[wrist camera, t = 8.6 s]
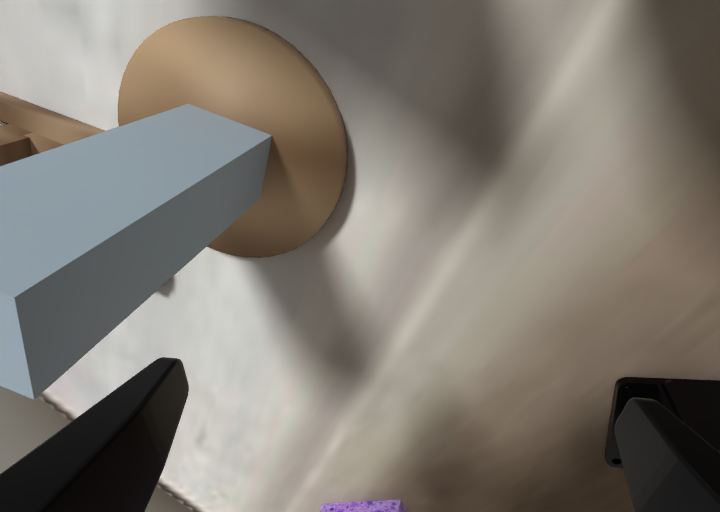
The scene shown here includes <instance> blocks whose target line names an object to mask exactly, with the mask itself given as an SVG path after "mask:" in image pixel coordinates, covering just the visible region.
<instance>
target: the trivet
mask: <svg viewBox="0 0 720 512" xmlns="http://www.w3.org/2000/svg"><path fill="white" fill-rule="evenodd" d="M186 104H191V105H193V106H196V107H199V108H201V109H204V110H207V111H209V112H212V113H215V114H217V115H220V116H222V117H225V118H228V119H230V120H233V121H236V122H238V123H241V124H244V125H246V126H249V127H251V128H254V129H257V130H259V131H262V132H265V133H267V134H270V135H272V138H271V144H270V149H269V154H268V160H267V165H266V170H265V176H264V181H263V186H262V192H261V197H260V199H259V200H258V201H257V202H256V203H255V204H254V205H252V206H251V207H250V208H249V209H248V210H247V211H246V212H245V213H243V214H242V215H241V216H240V217H239V218H238V219H237V220H236V221H234V222H233V223H232V224H231V225H230V226H229V227H228V228H227V229H225V230H224V231H223V232H222V233H221V234H220V235H219V236H218V237H216V238H215V239H214V240H213V241H212V242H211V243H210V244H209V245H208V246H207V247H209V248H212V249H214V250H217V251H220V252H223V253H226V254H230V255H234V256H241V257H254V258H260V257H270V256H275V255H279V254H283V253H285V252H288V251H290V250H293V249H295V248H297V247H298V246H300V245H302V244H304V243H305V242H306V241H308V240H309V239H310V238H311V237H313V236H314V235H315V234H316V233H317V231H318V230H319V229H320V228H321V227H322V226H323V225H324V223H325V222H326V220H327V219H328V217H329V216H330V214H331V213H332V211H333V210H334V208H335V207H336V205H337V202H338V200H339V198H340V196H341V193H342V190H343V187H344V183H345V179H346V172H347V157H348V150H347V141H346V134H345V130H344V125H343V121H342V118H341V115H340V112H339V110H338V107H337V104H336V102H335V100H334V98H333V96H332V94H331V92H330V90H329V88H328V86H327V85H326V83H325V82H324V80H323V79H322V77H321V76H320V74H319V73H318V71H317V70H316V69H315V68H314V67H313V65H312V64H311V63H310V62H309V61H308V60H307V58H306V57H305V56H304V55H303V54H301V53H300V52H299V51H298V50H297V49H296V48H295V47H294V46H293V45H291V44H290V43H289V42H287V41H286V40H284V39H283V38H282V37H280V36H279V35H277V34H276V33H274V32H272V31H270V30H268V29H266V28H264V27H262V26H260V25H257V24H254V23H251V22H249V21H246V20H241V19H236V18H231V17H215V16H211V17H195V18H187V19H183V20H179V21H176V22H173V23H170V24H168V25H166V26H164V27H162V28H161V29H159V30H157V31H156V32H154V33H153V34H152V35H151V36H149V37H148V38H147V39H146V40H145V41H144V42H143V43H142V44H141V45H140V46H139V47H138V49H137V50H136V51H135V53H134V54H133V56H132V58H131V59H130V61H129V63H128V65H127V67H126V70H125V72H124V75H123V78H122V82H121V86H120V90H119V99H118V122H119V127H120V126H123V125H126V124H129V123H132V122H135V121H138V120H141V119H144V118H147V117H150V116H153V115H156V114H159V113H162V112H165V111H168V110H171V109H174V108H177V107H180V106H183V105H186Z"/></svg>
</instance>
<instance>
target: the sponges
mask: <svg viewBox="0 0 720 512" xmlns="http://www.w3.org/2000/svg"><path fill="white" fill-rule="evenodd" d="M320 509H322V511H320V512H407V510H406V508H405V507H404V505H403V504H402V502H401V500H382V501H364V502H363V501H361V502H344V503H330V504H327V503H326V504H322V505H321V507H320Z"/></svg>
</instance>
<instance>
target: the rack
mask: <svg viewBox="0 0 720 512" xmlns="http://www.w3.org/2000/svg"><path fill="white" fill-rule="evenodd" d="M0 120H1V121H3V122H6V123H8V124H7V125H3V126H0V166H3V165H6V164H9V163H12V162H15V161H18V160H21V159H24V158H27V157H30V156H33V155H36V154H39V153H42V152H45V151H48V150H51V149H54V148H57V147H60V146H63V145H66V144H69V143H72V142H75V141H78V140H81V139H84V138H87V137H90V136H93V135H96V134H99V133H102V132H105V131H104V130H101V129H99V128H96V127H93V126H90V125H88V124H85V123H82V122H80V121H77V120H74V119H72V118H69V117H66V116H64V115H61V114H58V113H56V112H53V111H50V110H48V109H45V108H42V107H40V106H37V105H34V104H32V103H29V102H26V101H24V100H21V99H18V98H16V97H13V96H10V95H8V94H5V93H2V92H0Z"/></svg>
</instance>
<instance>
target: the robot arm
mask: <svg viewBox="0 0 720 512" xmlns="http://www.w3.org/2000/svg"><path fill="white" fill-rule="evenodd" d="M629 386H630V387H629ZM626 387H629V388H626ZM188 391H189V386H188V381H187V378H186V374H185V370H184V366H183V363H182V361H181V360H180V359H177V358H165V357H162V358H159V359H157V360H155V361H154V362H153V363H151V364H150V365H149V366H147V367H146V368H144V369H143V370H142V371H140V372H139V373H138V374H136V375H135V376H134V377H132V378H131V379H129V380H128V381H127V382H125V383H124V384H123V385H121V386H120V387H119V388H117V389H116V390H114V391H113V392H112V393H110V394H109V395H108V396H106V397H105V398H104V399H102V400H101V401H99V402H98V403H97V404H95V405H94V406H93V407H91V408H90V409H89V410H87V411H86V412H84V413H83V414H82V415H80V416H79V417H78V418H76V419H75V420H73V421H72V422H71V423H69V424H68V425H67V426H65V427H64V428H63V429H61V430H60V431H59V432H57V433H56V434H54V435H53V436H52V437H50V438H49V439H48V440H46V441H45V442H44V443H42V444H41V445H40V446H38V447H37V448H35V449H34V450H33V451H31V452H30V453H28V454H27V455H26V456H24V457H23V458H22V459H20V460H19V461H18V462H16V463H15V464H13V465H12V466H11V467H9V468H8V469H7V470H5V471H4V472H3V473H1V474H0V512H145V509H146V507H147V505H148V503H149V500H150V498H151V496H152V494H153V492H154V489H155V487H156V485H157V483H158V480H159V478H160V476H161V473H162V471H163V469H164V466H165V463H166V460H167V457H168V454H169V451H170V448H171V445H172V442H173V439H174V436H175V433H176V430H177V427H178V424H179V421H180V418H181V415H182V412H183V409H184V406H185V403H186V400H187V396H188ZM605 457H606V461H607V463H608V464H609V465H610V466H612V467H619V468H624V471H625V474H626V478H627V482H628V486H629V490H630V494H631V497H632V501H633V505H634V508H635V512H720V381H715V380H690V379H664V378H639V377H624V378H621V379H619V380H618V381H617V382H616V386H615V392H614V399H613V405H612V412H611V418H610V425H609V431H608V438H607V444H606V451H605Z"/></svg>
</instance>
